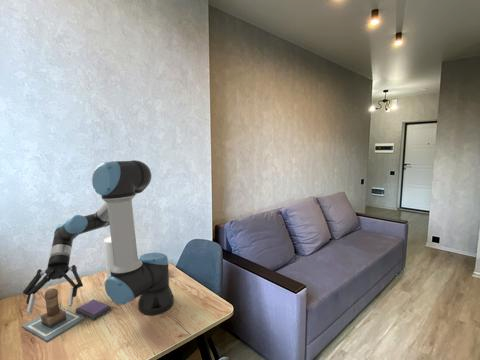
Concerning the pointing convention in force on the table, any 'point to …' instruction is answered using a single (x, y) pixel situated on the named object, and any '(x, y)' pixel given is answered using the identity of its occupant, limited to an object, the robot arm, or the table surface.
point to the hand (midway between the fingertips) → (50, 309)
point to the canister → (108, 255)
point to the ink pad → (93, 309)
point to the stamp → (52, 309)
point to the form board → (50, 333)
